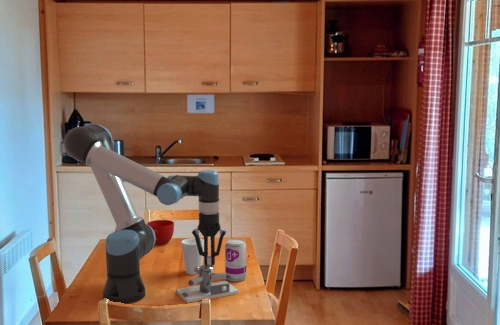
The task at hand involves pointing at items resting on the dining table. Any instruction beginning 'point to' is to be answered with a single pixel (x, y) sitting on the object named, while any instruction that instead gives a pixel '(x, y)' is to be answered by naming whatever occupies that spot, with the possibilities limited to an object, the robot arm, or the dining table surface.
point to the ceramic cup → (162, 230)
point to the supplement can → (235, 259)
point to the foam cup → (191, 255)
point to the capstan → (206, 277)
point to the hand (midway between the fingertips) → (209, 273)
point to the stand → (216, 291)
